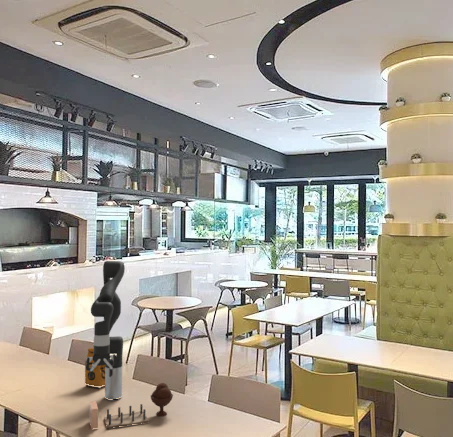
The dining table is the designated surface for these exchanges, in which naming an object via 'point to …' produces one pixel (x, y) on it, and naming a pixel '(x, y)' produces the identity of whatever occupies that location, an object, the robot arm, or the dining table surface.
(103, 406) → the dining table surface
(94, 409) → the peach chamfered block
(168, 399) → the ice cream bowl
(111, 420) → the dish rack
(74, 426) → the dining table surface
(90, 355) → the coffee package
